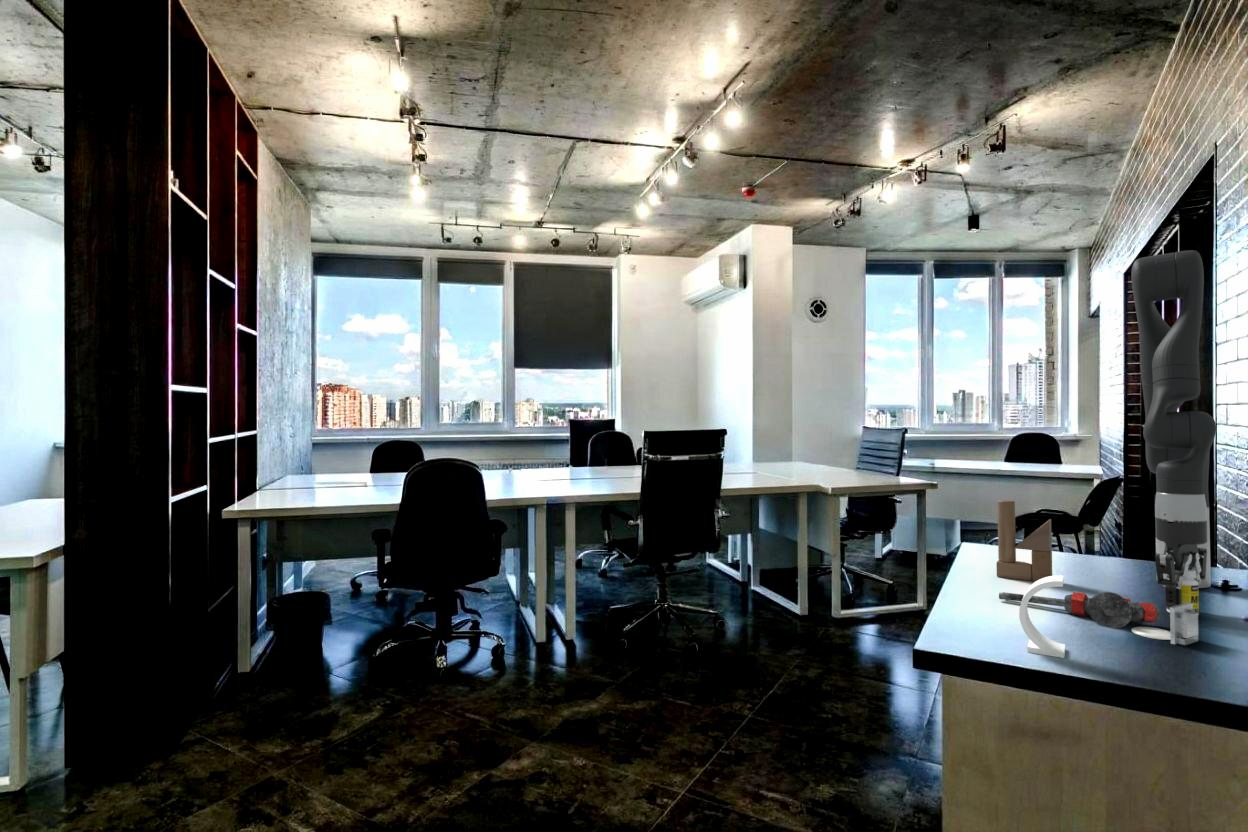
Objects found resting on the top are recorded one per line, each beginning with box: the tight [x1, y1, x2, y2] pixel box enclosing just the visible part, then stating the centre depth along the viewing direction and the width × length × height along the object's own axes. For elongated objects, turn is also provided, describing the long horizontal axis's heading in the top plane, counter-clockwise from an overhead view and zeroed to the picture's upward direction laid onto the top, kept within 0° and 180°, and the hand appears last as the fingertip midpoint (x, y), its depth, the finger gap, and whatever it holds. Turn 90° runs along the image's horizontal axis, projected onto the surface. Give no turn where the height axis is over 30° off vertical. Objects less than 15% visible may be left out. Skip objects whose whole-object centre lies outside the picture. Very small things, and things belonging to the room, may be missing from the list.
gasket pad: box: [1131, 626, 1171, 641], centre depth 114 cm, size 6×6×1 cm
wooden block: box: [995, 499, 1053, 583], centre depth 154 cm, size 4×11×18 cm, turn 50°
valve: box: [998, 591, 1162, 629], centre depth 128 cm, size 6×26×15 cm
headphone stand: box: [1018, 574, 1066, 659], centre depth 108 cm, size 5×6×12 cm
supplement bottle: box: [1166, 569, 1200, 616], centre depth 126 cm, size 5×5×8 cm
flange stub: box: [1169, 602, 1199, 646], centre depth 110 cm, size 6×2×6 cm, turn 117°
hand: (1182, 605), depth 126 cm, fingers open, 5 cm apart
